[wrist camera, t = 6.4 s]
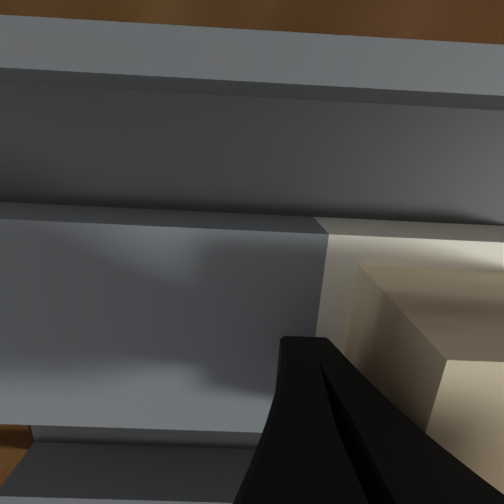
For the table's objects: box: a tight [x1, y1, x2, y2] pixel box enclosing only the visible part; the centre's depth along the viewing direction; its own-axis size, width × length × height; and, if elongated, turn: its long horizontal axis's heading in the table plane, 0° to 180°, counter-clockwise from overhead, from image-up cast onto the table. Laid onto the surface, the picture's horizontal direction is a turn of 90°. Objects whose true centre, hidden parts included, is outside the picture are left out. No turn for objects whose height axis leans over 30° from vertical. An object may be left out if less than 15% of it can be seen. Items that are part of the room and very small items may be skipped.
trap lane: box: [0, 15, 504, 504], centre depth 10 cm, size 16×18×2 cm
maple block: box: [344, 265, 504, 494], centre depth 7 cm, size 5×5×4 cm
